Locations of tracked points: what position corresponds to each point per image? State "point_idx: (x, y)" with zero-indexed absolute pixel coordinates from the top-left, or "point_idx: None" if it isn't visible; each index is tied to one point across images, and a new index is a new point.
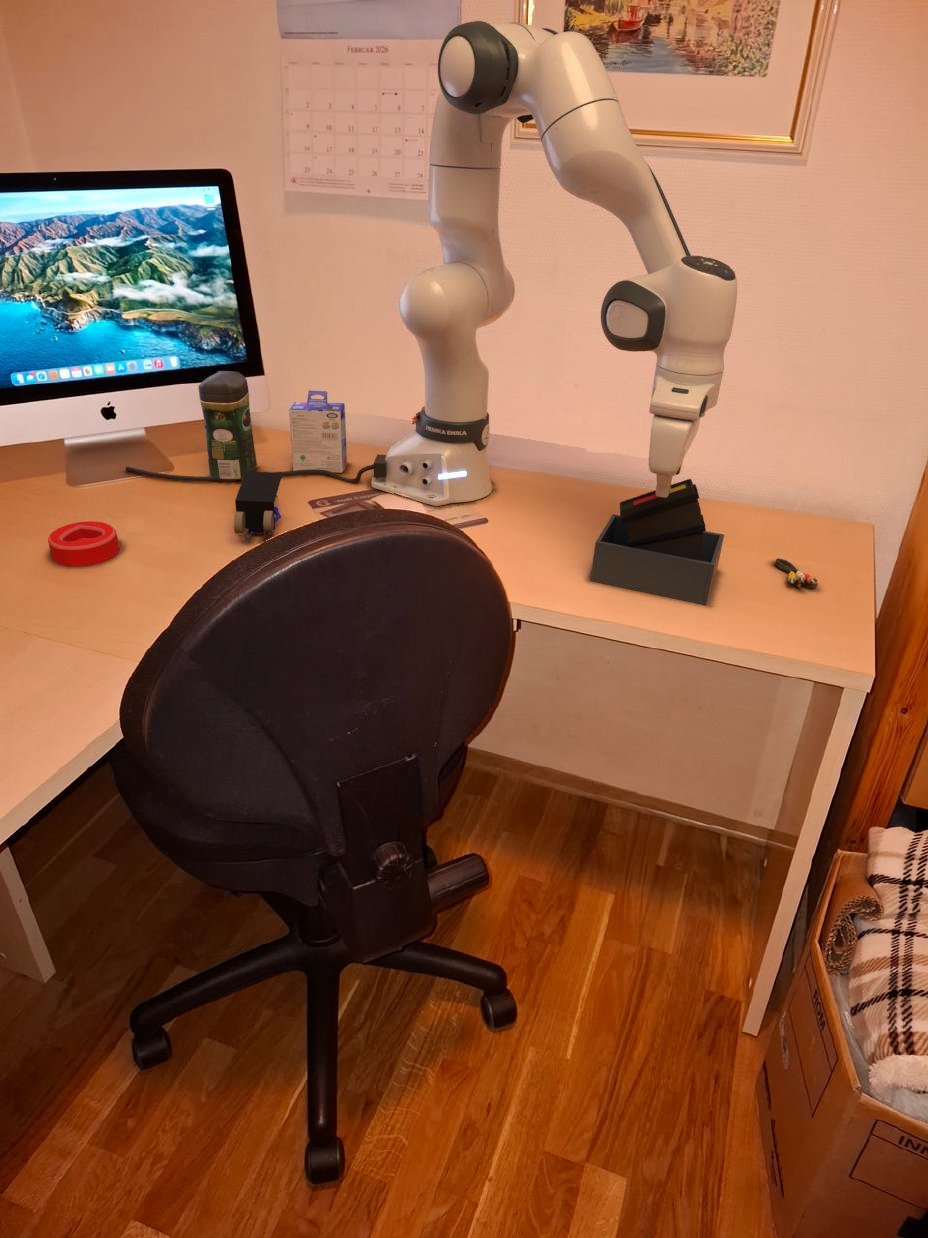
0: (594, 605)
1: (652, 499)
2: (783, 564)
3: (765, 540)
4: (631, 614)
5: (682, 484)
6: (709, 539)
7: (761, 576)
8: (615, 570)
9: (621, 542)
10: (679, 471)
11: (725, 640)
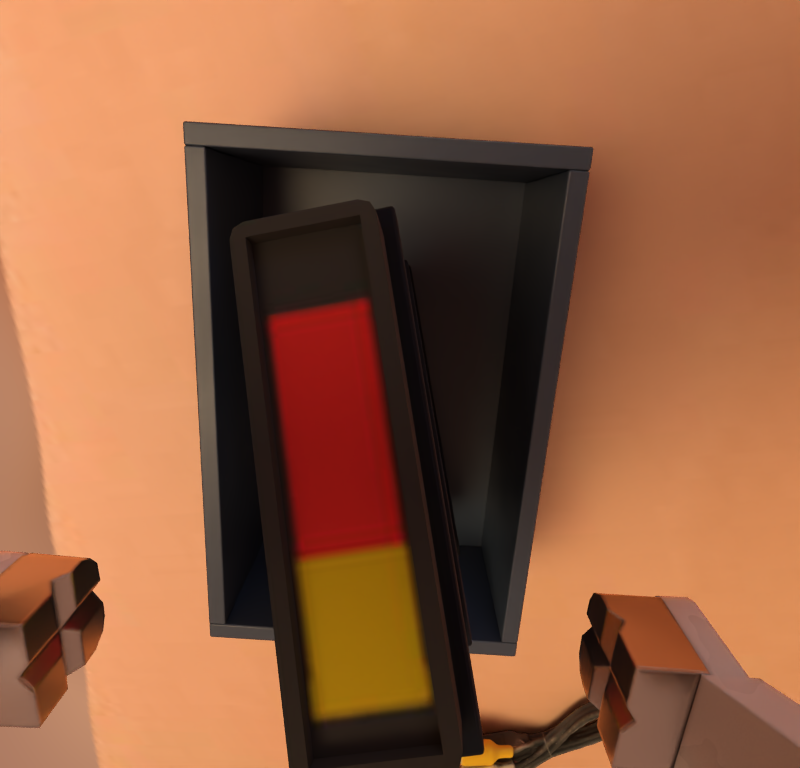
0: (79, 203)
1: (256, 459)
2: (571, 729)
3: (781, 673)
4: (87, 335)
5: (431, 682)
6: (502, 592)
7: (510, 663)
8: None
9: (528, 223)
10: (587, 694)
11: None
